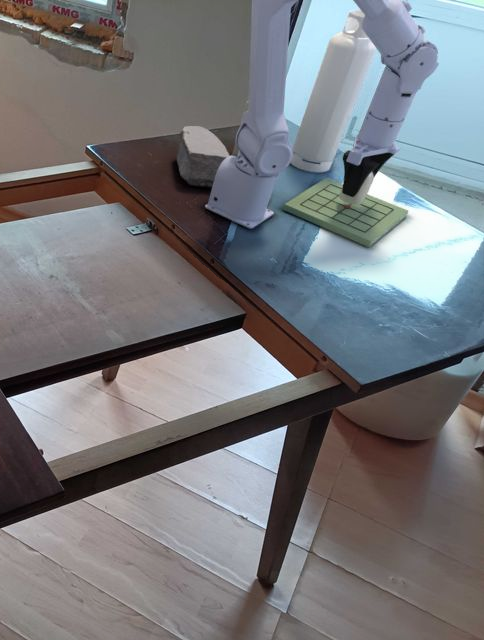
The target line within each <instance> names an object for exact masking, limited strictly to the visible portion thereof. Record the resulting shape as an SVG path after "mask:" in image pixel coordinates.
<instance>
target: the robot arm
mask: <svg viewBox="0 0 484 640" xmlns="http://www.w3.org/2000/svg"><path fill="white" fill-rule="evenodd" d="M298 1H299V0H251V15H250V16H251V17H250V46H249V47H250V48H249V49H250V51H249V52H250V53H249V75H248V77H249V81H248V101H249V107H248V111H246V112H244V111H243V113H242V114H241V121H240V124H241V125H239V127H238V129H237V131H236V134H235V142H236V145H237V147H238V149H239V152H238V155H237V157H236V156H232V155H230V156H228V157H227V158H226V159H224V161H223V162H222V163H221V165H220V166H219V168H218V170H217V173H216V175H215V179H214V183H213V186H212V188H211V190H210V191H211V192H210V194H209V198H208V202H207V204H205V206H204V208H205V209H207V210H208V211H211V212H213V213H214V214H217V215H219V216H221V217H224V218H225V219H227V220H230V221H232V222H234V223H236V224H239V225H241V226H243V227H245V228H247V229H249V230H251V229H254V228H255V227H257V226H259V225H260V224H262V223H263V222H265V221H266V220H268V219H269V218H271V217H272V216H274V214H275V212H274V211H273V210H271V209H269V208H268V205H269V202H270V199H271V196H272V193H273V191H274V188H275V185H276V182H277V179H278V177H279V175H280V174H281V173H282V172H283V171H285V170H286V169H287V168H288V166H289V165H290V164H291V163H290V162H291V160H292V157H293V145H292V144H291V143H290V137H289V134H290V131H289V126H288V123H287V120H286V116H285V99H286V98H285V97H286V82H287V69H288V56H289V40H290V39H289V38H290V26H291V25H290V24H291V10H292V7H293V6H294V5H295V4H296V3H297V2H298ZM352 1H353V2H354V3H355V4H356V7H358V8H359V10H361V11H362V12H363V13H364V14H365V16H364V19H363V22H362V29H363V31H364V32H365V33H366V35H367V36H368V37H369V39H370V40H371V42H372V43H373V44H374V46H375V47H376V51H377V52H379V54H380V63H381V64H382V65H384V66H385V67H384V69H383V71H382V74H381V76H380V79H379V81H378V84H377V87H376V88H375V90H374V94H373V96H372V99H371V100H370V104H369V106H368V109H367V111H366V113H365V116H364V119H363V121H362V123H361V126H360V128H359V131H358V133H357V134H356V135H355V138H354V140H353V145H352V148H351V149H348V150H347V151H345V152H344V153H343V155H342V162H343V168H344V175H343V182H342V184H343V189H342V193H343V194H346V195H348V196H350V197H354V196H355V195H356V194H357V193H358V191H359V190H360V188H361V187H362V185H363V183H364V181H365V180H366V178H367V177H368V176H369V174H370V173H371V172H373V175H374V178H375V177H376V176H377V174H378V173H379V172H380V170H381V169H382V167H383V166H384V165H385V164H386V163H387V162H388V161H389V160H390V159H391V158H392V157H393V156H394V155H396V154H397V153H399V151H400V149H401V146H399V145H396V140H397V138H398V135H399V134H400V131H401V128H402V126H403V124H404V122H405V119H406V116H407V115H408V112H409V110H410V108H411V106H412V104H413V101H414V99H415V98H416V97H415V96H416V95H417V93H418V91H419V90H421V89H422V87H423V84H424V83H425V82H426V80H427V79H428V78H429V77H430V76H431V75H432V74H433V73H435V71H436V70H437V68H438V67H439V65H440V63H439V62H438V57H439V56H438V55H439V51H438V48H437V46H436V44H434V43H432V42H431V41H429V40H427V39H425V35H424V34H425V33H426V29H425V28H424V26H423V25H421V24H417V22H416V21H415V20H414V18H413V16H412V15H411V13H410V12H411V10H412V9H413V7H412V5H411V3H410V2H408V1H406V0H352Z"/></svg>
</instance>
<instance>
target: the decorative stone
mask: <svg viewBox="0 0 484 640" xmlns="http://www.w3.org/2000/svg"><path fill="white" fill-rule="evenodd" d="M228 156H231V155H230V153H229V151H228V150H227V147H226V146H225V145H224V144H223V142H222V141H221V140H220V138H218V137H217V136H216V135H215V134H214V133H213V132H212V131H211V130H209V129H206V128H205V127H204V126H199V125H187V126H184V127H183V128H182V129H181V131H180V132H179V142H178V150H177V155H176V163H177V166H178V172H179V175H180V177H181V179H182V180H183V181H185V182H186V183H187V184H188V185H189V186H191V187H196V188H203V189H212V186H213V183H214V179H215V175H216V173H217V170H218V168H219V166H220V165H221V163H222V162H223V161H224V159H226V158H227V157H228Z"/></svg>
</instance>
